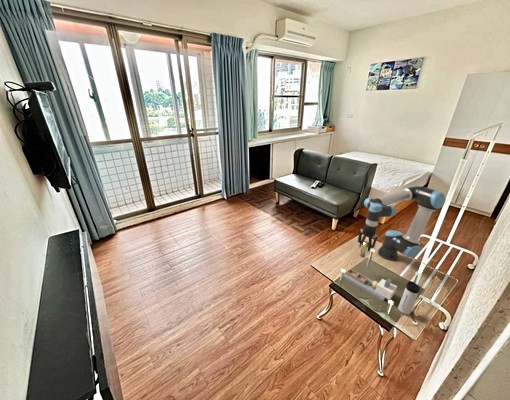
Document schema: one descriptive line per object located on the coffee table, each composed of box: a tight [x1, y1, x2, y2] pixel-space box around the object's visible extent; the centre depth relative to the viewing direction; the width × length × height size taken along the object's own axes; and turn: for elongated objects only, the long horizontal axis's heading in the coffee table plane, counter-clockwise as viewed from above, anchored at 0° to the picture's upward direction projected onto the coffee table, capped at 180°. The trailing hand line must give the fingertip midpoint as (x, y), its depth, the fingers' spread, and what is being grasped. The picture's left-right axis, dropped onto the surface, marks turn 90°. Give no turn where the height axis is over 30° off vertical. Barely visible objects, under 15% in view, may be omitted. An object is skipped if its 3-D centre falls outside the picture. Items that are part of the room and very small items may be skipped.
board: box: [342, 268, 386, 302], centre depth 152 cm, size 12×28×6 cm, turn 41°
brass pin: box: [359, 240, 369, 258], centre depth 159 cm, size 4×4×12 cm
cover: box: [375, 277, 398, 301], centre depth 142 cm, size 9×9×10 cm
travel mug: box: [397, 280, 421, 316], centre depth 129 cm, size 6×7×20 cm
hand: (363, 253), depth 161 cm, fingers closed on brass pin, 3 cm apart
